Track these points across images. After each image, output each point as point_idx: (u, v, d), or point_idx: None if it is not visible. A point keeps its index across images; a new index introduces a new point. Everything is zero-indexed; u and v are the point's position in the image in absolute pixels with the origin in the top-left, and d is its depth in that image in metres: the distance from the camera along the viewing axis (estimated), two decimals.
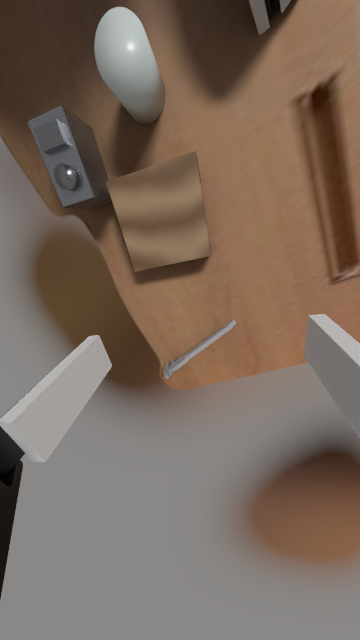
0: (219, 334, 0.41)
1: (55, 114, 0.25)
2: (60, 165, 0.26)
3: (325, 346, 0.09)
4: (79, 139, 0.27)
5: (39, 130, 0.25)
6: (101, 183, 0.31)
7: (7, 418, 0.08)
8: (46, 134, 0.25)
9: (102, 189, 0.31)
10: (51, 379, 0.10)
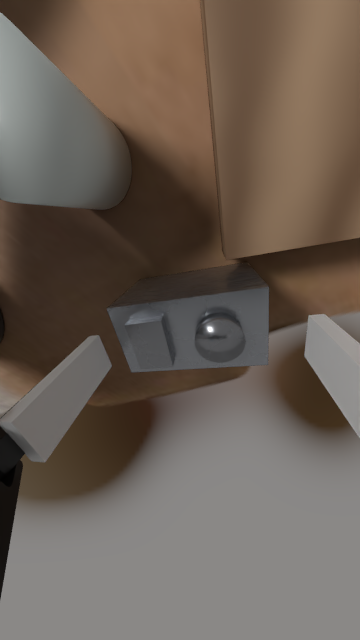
0: None
1: (120, 324, 0.13)
2: (198, 343, 0.12)
3: (325, 346, 0.09)
4: (153, 294, 0.13)
5: (142, 360, 0.13)
6: (222, 274, 0.15)
7: (7, 418, 0.08)
8: (147, 350, 0.13)
9: (235, 274, 0.14)
10: (51, 379, 0.10)
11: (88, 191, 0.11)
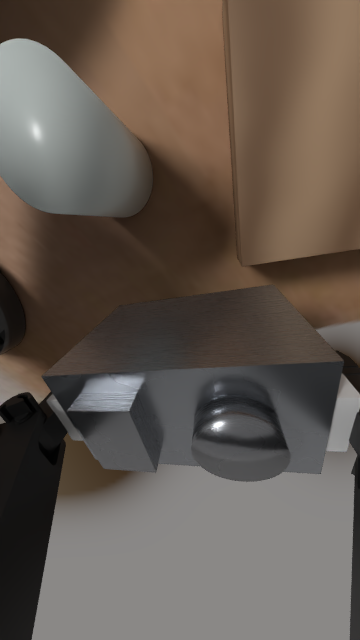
0: None
1: (67, 399, 0.08)
2: (198, 452, 0.06)
3: None
4: (126, 346, 0.08)
5: (104, 459, 0.08)
6: (238, 310, 0.09)
7: None
8: (111, 448, 0.07)
9: (260, 312, 0.08)
10: None
11: (115, 202, 0.12)
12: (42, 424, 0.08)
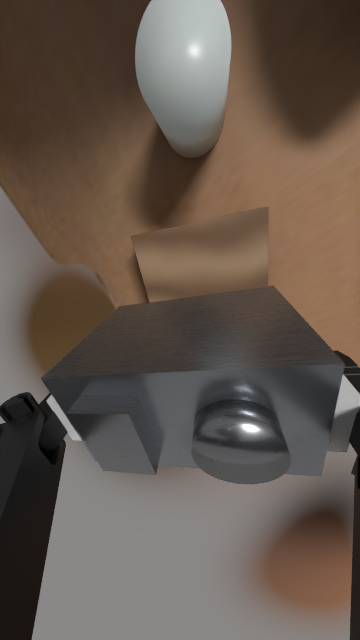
0: None
1: (67, 401, 0.08)
2: (198, 454, 0.06)
3: None
4: (125, 348, 0.08)
5: (104, 461, 0.08)
6: (238, 311, 0.09)
7: None
8: (111, 450, 0.07)
9: (260, 314, 0.08)
10: None
11: (159, 125, 0.16)
12: (42, 424, 0.08)
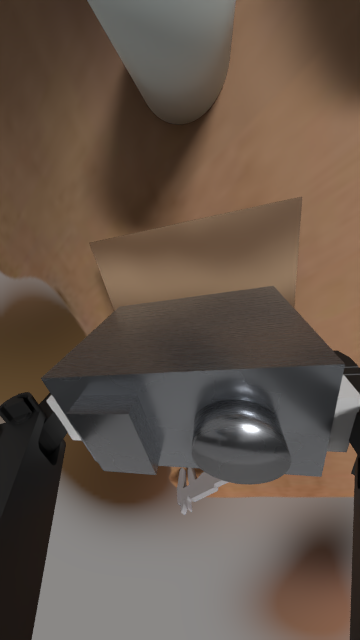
0: None
1: (67, 401, 0.08)
2: (198, 455, 0.06)
3: None
4: (125, 348, 0.08)
5: (104, 461, 0.08)
6: (238, 311, 0.09)
7: None
8: (111, 450, 0.07)
9: (260, 314, 0.08)
10: None
11: (115, 48, 0.09)
12: (42, 424, 0.08)
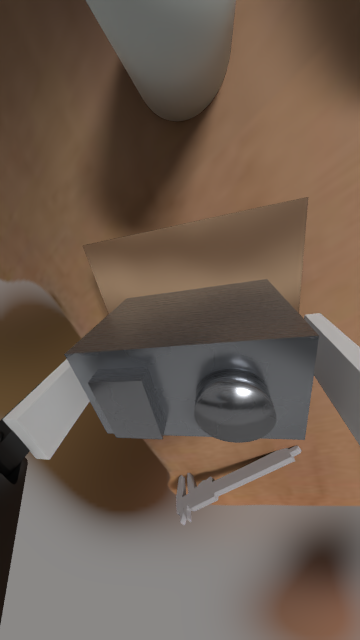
0: (272, 467, 0.25)
1: (85, 375, 0.09)
2: (199, 415, 0.07)
3: (321, 344, 0.09)
4: (136, 330, 0.09)
5: (117, 427, 0.09)
6: (235, 300, 0.10)
7: (13, 415, 0.08)
8: (124, 416, 0.09)
9: (254, 301, 0.10)
10: (55, 377, 0.10)
11: (107, 36, 0.08)
12: None
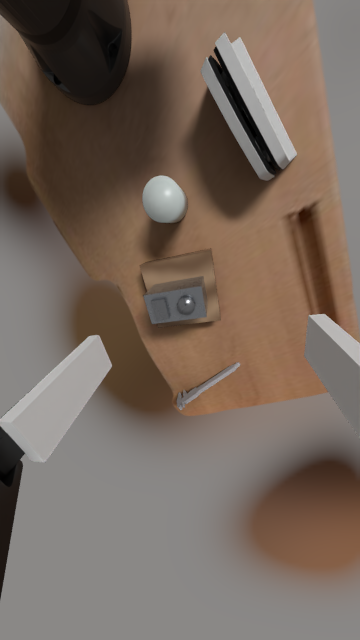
0: (225, 374, 0.49)
1: (148, 301, 0.33)
2: (177, 307, 0.32)
3: (325, 346, 0.09)
4: (161, 290, 0.34)
5: (156, 316, 0.33)
6: (189, 281, 0.35)
7: (7, 418, 0.08)
8: (159, 311, 0.33)
9: (194, 281, 0.34)
10: (51, 379, 0.10)
11: None
12: None
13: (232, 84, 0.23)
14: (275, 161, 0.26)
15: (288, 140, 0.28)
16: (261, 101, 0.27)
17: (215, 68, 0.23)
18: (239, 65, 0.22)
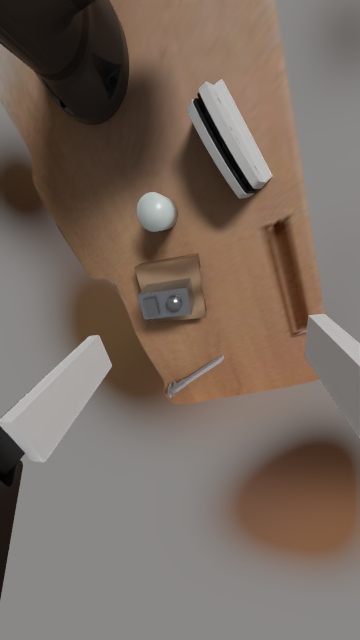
0: (211, 366, 0.55)
1: (140, 300, 0.38)
2: (166, 305, 0.37)
3: (325, 346, 0.09)
4: (152, 290, 0.38)
5: (148, 313, 0.38)
6: (178, 283, 0.39)
7: (7, 418, 0.08)
8: (150, 309, 0.38)
9: (181, 283, 0.39)
10: (51, 379, 0.10)
11: None
12: None
13: (212, 123, 0.27)
14: (250, 185, 0.30)
15: (264, 164, 0.33)
16: (240, 132, 0.31)
17: (198, 109, 0.27)
18: (217, 109, 0.26)
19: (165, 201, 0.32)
